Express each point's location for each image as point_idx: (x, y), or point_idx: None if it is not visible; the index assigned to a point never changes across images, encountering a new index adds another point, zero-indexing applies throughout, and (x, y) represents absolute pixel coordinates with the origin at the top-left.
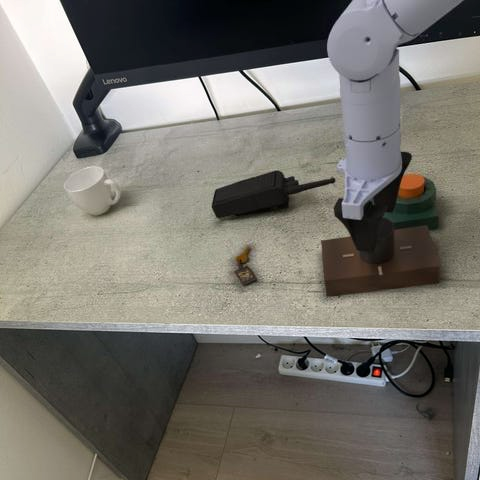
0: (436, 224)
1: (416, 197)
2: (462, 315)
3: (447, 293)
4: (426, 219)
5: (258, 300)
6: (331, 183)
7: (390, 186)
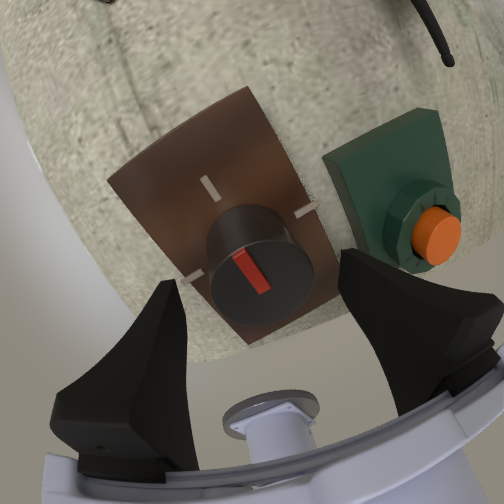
0: None
1: (412, 253)
2: (196, 355)
3: (226, 332)
4: None
5: (59, 48)
6: (441, 58)
7: (382, 338)
